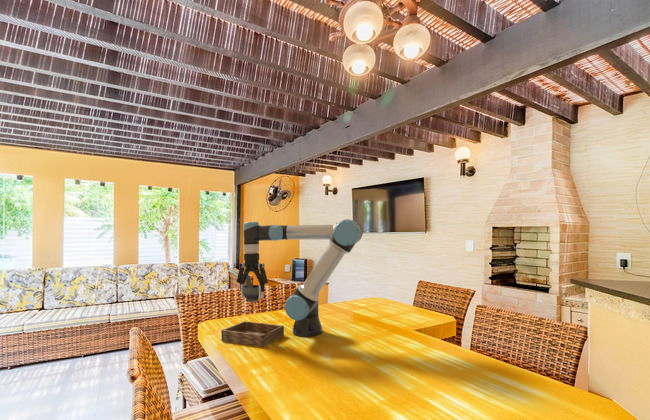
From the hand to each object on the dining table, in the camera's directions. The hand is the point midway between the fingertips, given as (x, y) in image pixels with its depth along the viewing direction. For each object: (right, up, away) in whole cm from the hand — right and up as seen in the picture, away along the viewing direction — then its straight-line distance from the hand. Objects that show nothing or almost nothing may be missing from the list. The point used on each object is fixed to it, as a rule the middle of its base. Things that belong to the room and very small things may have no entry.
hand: (252, 297), depth 174 cm
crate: (+1, -19, -2) cm, 20 cm away
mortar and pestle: (0, -1, 0) cm, 2 cm away
